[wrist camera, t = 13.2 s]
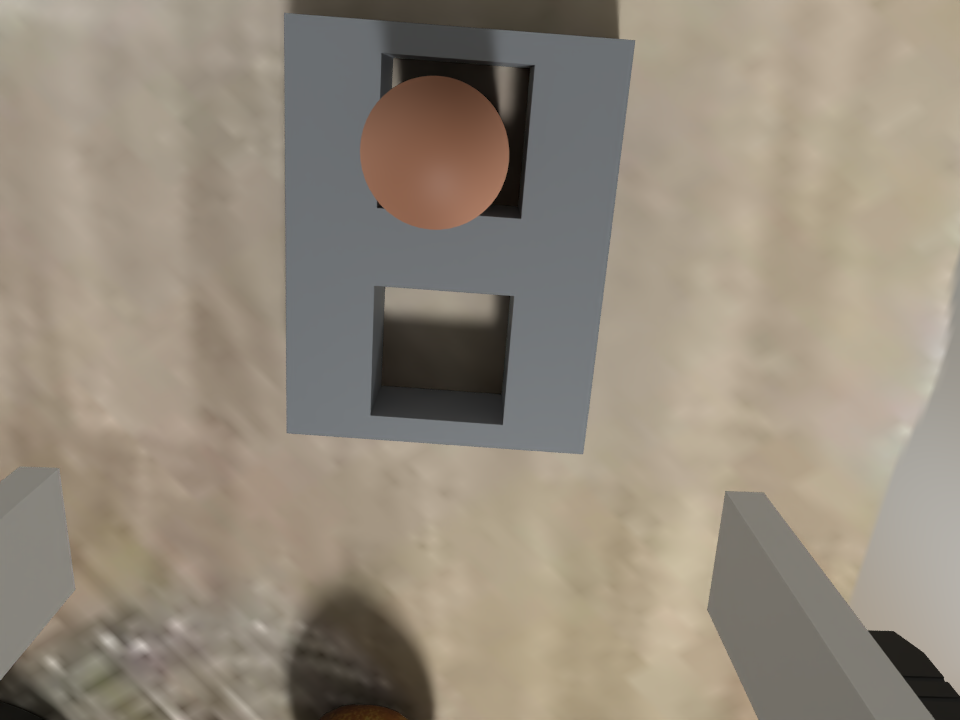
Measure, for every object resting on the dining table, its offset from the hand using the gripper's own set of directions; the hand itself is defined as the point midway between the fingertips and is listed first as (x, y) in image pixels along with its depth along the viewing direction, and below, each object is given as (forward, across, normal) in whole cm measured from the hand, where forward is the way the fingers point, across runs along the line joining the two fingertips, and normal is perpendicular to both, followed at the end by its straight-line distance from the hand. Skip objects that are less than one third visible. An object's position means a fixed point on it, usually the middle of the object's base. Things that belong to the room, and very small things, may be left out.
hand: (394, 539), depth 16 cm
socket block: (+24, 0, -2) cm, 24 cm away
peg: (+24, 0, -7) cm, 25 cm away
